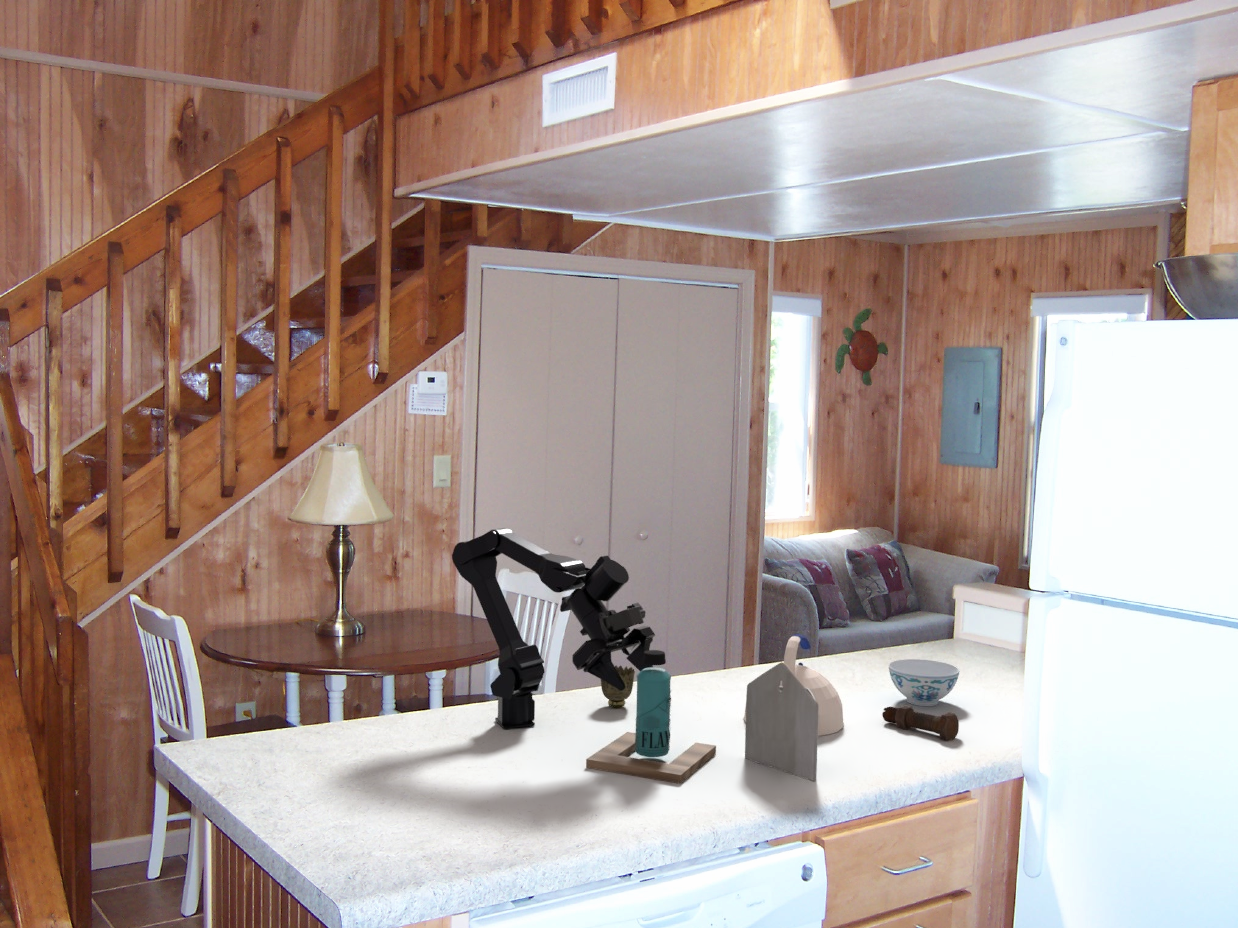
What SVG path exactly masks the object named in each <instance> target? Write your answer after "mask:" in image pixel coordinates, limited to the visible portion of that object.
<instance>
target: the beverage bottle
mask: <svg viewBox="0 0 1238 928" xmlns="http://www.w3.org/2000/svg"><path fill="white" fill-rule="evenodd" d="M643 663H644V664H647V665H653V667H650V668H645V669H643V670H642V671H639V672H638V673H637V675H636V716H635V720H634V721H635V732H634V733H635V734H636V737H635V745H634V748H635V753H636V754H637V755H639V756H641V757H645V758H660V757H664V756H667V755H668V754H669V751H670V748H671V745H670V741H671V717H670V716H671V707H672V705H671V704H672V702H671V701H672V697H671V693H672V690H671V679H672V676H671V674H670V673H669V672H668V671H667V670H666V669H664V668H663V667H655V666H661V665H665V664H666V653H665V651H664V650H659V649H649V650H648V651H645V652H644V657H643Z"/></svg>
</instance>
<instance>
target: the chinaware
mask: <svg viewBox="0 0 1238 928" xmlns="http://www.w3.org/2000/svg"><path fill="white" fill-rule="evenodd" d="M888 672H889V675H890V678H891V681H892V683H893V685H894V686H895V688H896V690H898V692H899V693H901V694H902V695H903V696H904V697H906V702H907V703H909V704H911V705H915V706H920V707H921V706H923V707H933V706H937V705H938V704H939V701H940V700H941V699H944V698H945V697H946V696H948V694H950V693H951V691H952V690H953V689H954V687H955V686H956V684H957V681H958V679H959V675H960V668H958V667H957V666H955V665H954V664H951V663H947V662H943V661H939V660H933V659H930V660H929V659H919V658H904V659H896V660H893V661H891V662H889V663H888Z"/></svg>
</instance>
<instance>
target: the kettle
mask: <svg viewBox="0 0 1238 928" xmlns="http://www.w3.org/2000/svg"><path fill="white" fill-rule="evenodd" d="M799 646H800V648H801V649H802V650H810V649H811V643H810V642H809V639H808V637H806V636H805V635H803V634H794V635H792V636H790V637H789V638H788V641H787V644H786V646H785V651H784V657H783V663H784V664H785V665H786V666H787V667H788V669H789V670H790V671H791V672H792V673H793V674H794V676H795V677H796V678H797V679H798V680H799V682H800V683H801V684H802V685H803V686H804V688H809V689H810V691H811V692H812V693H813V695H814V697H815V699H816V701H817V703H818V737H823V736H827V735H828V736H829V735H832V734H835V733H838V732H840V730H842V729H843V728H844V725H845V724H844V723H845V722H844V715H843V713H844V712H843V710H844V709H843V702H842V700H841V697H840V695H839V692H838V691H837V690H836V688H835V687H834V685H833V684H832V683H831V681H830V680H829V679H828V678H827V677H826V676H824V675H823V674H822V673H821V672H819V670H818V671H817V670H816V669H813V668H811V667H808V666H805V665H804V664H803V662H798V664H796V663H797V662H796V661H797V653H798V649H799ZM779 687H783V686H782V681H781V684H780V686H779ZM743 720H744V722H745V723H746V706H745V707H744V715H743Z"/></svg>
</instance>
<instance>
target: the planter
mask: <svg viewBox="0 0 1238 928" xmlns="http://www.w3.org/2000/svg"><path fill="white" fill-rule="evenodd" d="M781 681H782V686H783V687H779V686H780V684H781ZM745 700H746V701H745V707H746V722H745V733H744V734H745V735H744V736H745V740H744V743H745V744H744V758H745V759H747V760H749V761H752V762H756V763H758V764H761V765H764V766H766V767H770V768H772V769H775V770H779V771H782V772H784V773H788V774H791V775H794V776H796V777H799V778H802V779H805V780H808V781H811V782H816V781H817V772H818V768H817V765H818V764H817V763H818V738H819V736H818V703H817V701H816V699H815V697H814V695H813V693H812V692H811V691H810V689H809V688H804V686H803V685H802V684H801V683H800V682H799V680H798V679H797V678H796V677H795V676H794V674H793V673H792V672H791V671H790V670H789V669H788V667H787V666H786V665H785V664H784V661H783V662H779V663H777V664H776V665H774V666H772V667H771V668H770V669H768V670H766V671H765V672H764V673H762V674H760V675H759V676H757V677H756V678H754V679H753V680H752V681H750V682H749V683H748V684H747V685H746V699H745Z"/></svg>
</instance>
